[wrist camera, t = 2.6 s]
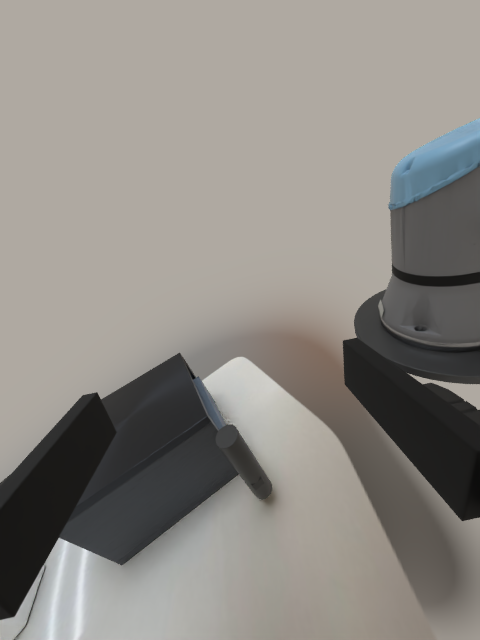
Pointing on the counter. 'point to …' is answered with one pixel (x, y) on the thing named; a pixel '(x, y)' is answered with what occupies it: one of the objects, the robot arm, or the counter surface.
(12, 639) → the jar
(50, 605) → the counter surface
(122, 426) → the drawer box
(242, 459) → the blue-grey drawer tray
